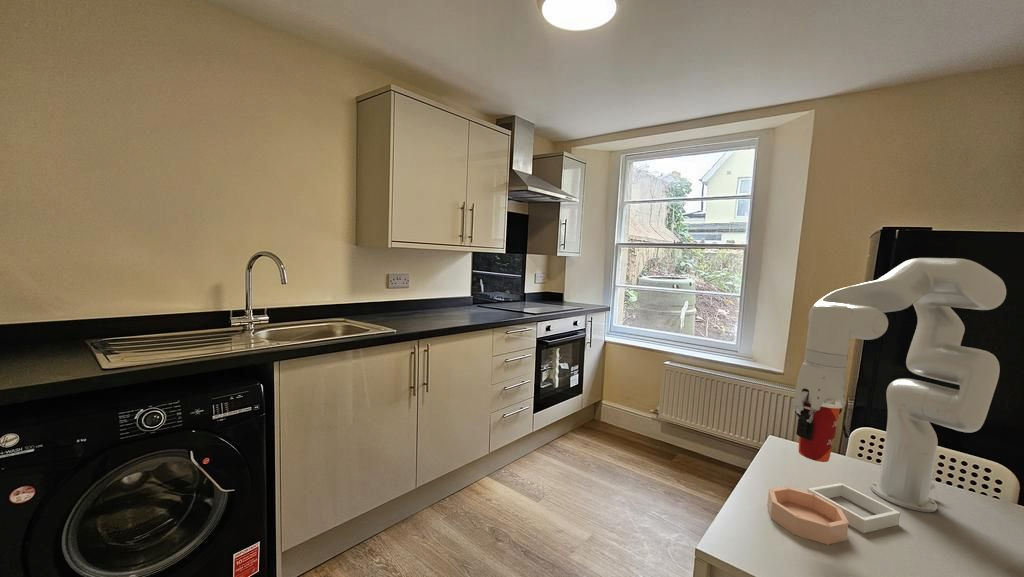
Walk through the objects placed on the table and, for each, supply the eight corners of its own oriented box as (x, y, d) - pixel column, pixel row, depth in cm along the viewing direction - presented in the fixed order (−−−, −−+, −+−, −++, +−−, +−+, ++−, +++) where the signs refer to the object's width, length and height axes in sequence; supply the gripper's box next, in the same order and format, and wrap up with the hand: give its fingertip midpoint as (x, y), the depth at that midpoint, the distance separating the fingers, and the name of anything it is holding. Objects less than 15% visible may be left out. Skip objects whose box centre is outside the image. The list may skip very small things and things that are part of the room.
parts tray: (839, 493, 106) (841, 482, 105) (898, 524, 94) (900, 512, 94) (806, 499, 102) (807, 488, 101) (863, 533, 90) (865, 520, 89)
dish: (795, 499, 101) (797, 484, 101) (858, 537, 88) (861, 519, 88) (754, 507, 97) (756, 491, 97) (814, 547, 84) (816, 529, 83)
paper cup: (842, 467, 87) (851, 404, 86) (803, 461, 88) (811, 399, 87) (822, 450, 94) (830, 392, 93) (786, 445, 96) (793, 388, 95)
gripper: (833, 354, 96) (824, 426, 97) (781, 355, 90) (772, 432, 92) (870, 363, 89) (859, 440, 90) (815, 364, 83) (805, 447, 85)
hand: (815, 435), depth 91 cm, fingers closed on paper cup, 6 cm apart
